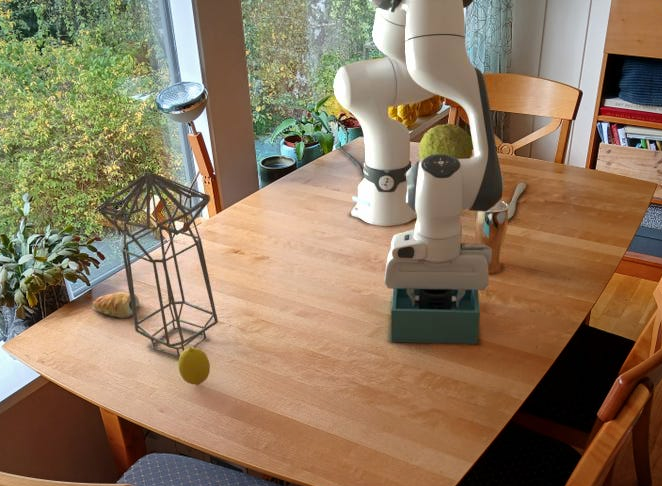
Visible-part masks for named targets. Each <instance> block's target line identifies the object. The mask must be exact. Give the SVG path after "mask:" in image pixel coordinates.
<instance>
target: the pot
mask: <svg viewBox="0 0 662 486" xmlns="http://www.w3.org/2000/svg"><path fill="white" fill-rule="evenodd" d="M451 305H452V290H450V289H419V309H434V310H451Z"/></svg>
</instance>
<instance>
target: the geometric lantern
mask: <svg viewBox="0 0 662 486" xmlns="http://www.w3.org/2000/svg"><path fill="white" fill-rule="evenodd" d="M129 190H130V191H129ZM128 191H129V192H128ZM154 191H155V193H156V195H157V197H158V199H159V201H160V203H161V204H162V206H163V208H164V210H165V212H166V214H167V217H168V218H167V219H165V220H163V221H160V222H159V220H158V214H157V206H156V200H155V199H156V198H155V194H154ZM170 191H172V192H174V193H176V194H177V195H178V196H179V197H178V198H179V201H178V200H177V198H176V197H175V196H173V194H172V193H171V192H170ZM126 192H128V194H127V195H125V197H124V198H123V199H120V200H117V198H119V197H120V196H122V195H123V194H125V193H126ZM144 192H145V195H144V197H143V199H142V201H141V204H140V205H139V204H138V200H139V198H140V196H141V195H142V194H143V193H144ZM161 192H162V193H163V194H164V195H165V196H166V197H167V198H168V199H169V201H171V202H172V203H173V204H174V205H175V206H176V207H175V209H174V210H173V212H172V213H171V211H170V209H169V207H168V205H167V204H166V201H165V200H164V198H163V196H162V194H161ZM182 196H184V197H185V198H187V199H188V200H189V207H188V206H185V205H183V204H182ZM151 197H152V203H153V211H154V218H153V217H152V216H151ZM133 198H134V199H133ZM192 198H199V199H201V200H200V201H198V202H197V203H196V204H194V205H193V206H192V204H193V203H192ZM132 199H133V201H132ZM115 200H116V201H115ZM131 201H132V203H131ZM210 201H211V195H210V194H206V193H204V192H201V191H198V190H196V189H194V188H191V187H189V186H186V185H184V184H182V183H179V182H177V181H173V180H171V179H169V178H166V177H163V176H161V175H159V174H157V173H153V172H143V175H140V176H139V177H138V178H136V179H135V180H133V181H132V182H131V183H129V184H128V185H127V186H124V187H123V188H122V189H120V190H119V191H118V192H116V193H115V194H114V195H112V196H111V197H109V198H108V199H106V200H105V201H104V202H102V203H100V204H99V205H97V207H95V209H94V211H93V214H95V215H96V214H97V213H99V214H100V215H101V216H102V217H104V218H105V219H106V220H107V221H108V222H109V223H110V224H112V226H114V228H116V230H117V234H118V235H119V236H121V235H123V240H122V241H123V244H122V246H123V247H122V248H120V252H122V258H123V265H124V270H125V275H126V282H127V288H128V293H129V294H130V300H131V306H132V312H133V313H132V318H133V324H134V331H135V333H137V334H139V335H141V336H143V337H145V338H147V339H148V340H150V341H151V348H152V350H155V351H158V352H161V353H164V354H167V355H170V356H174V357H176V358H179V357H180V355H181V353H180V350H181V349H182V352H183V351H184V350H185V347H186V346H187V345H189V344H190V343H191V342H193V341H194V340H196V338H198V337H200V336H203V338H202V339H201V340H198V342H196V343H195V344H194V345H193V346H192V347H195V348H197V347H198V346H199V345H200V344H201V343H203V342H204V341H205V340H206V339H207V335H206V331H208V330H210V328H212V327H214V326H215V325H218V323H219V319H218V314H217V311H216V306H215V301H214V296H213V293H212V287H211V282H210V277H209V271H208V267H207V263H206V258H205V253H204V248H203V242H202V239H201V236H200V233H199V231H198V227H197V225H196V222H195V220H196V219H197V218H198V216H199V215H200V214H201V213H202V212H203V210H204V209H205V208H206V207H207V205H209V203H210ZM130 203H131V207H130V209H129V211H127V210H126V208H127V207H128V205H130ZM120 204H122V207H121V208H120V209H116V208H110V207H112V206H116V205H120ZM145 205H146V208H145V209H146V211H145V210H144V206H145ZM178 211H180V212H181V213H182V214H181V215H179V216H177V215H176V214H177V213H178ZM195 211H196V212H195ZM140 212H143V214H145V215H146V224H144V223H138V222H133V221H130V220H131V217H132V215H134V214H137V213H140ZM194 212H195V214H194V215H193V213H194ZM122 215H123V217H122ZM109 216H112V217H114V219H112V218H111V217H109ZM188 216H190V218H191V219H190V220H188V219H189V218H188ZM182 219H184V220H185V224H186V225H183V227H181V228H179V229H177V228H176V224H175V222H176V221H179V220H182ZM117 220H120V221H122V222H123V228H122V227H121V226H120V225H118V221H117ZM151 220H152V221H153V222H154V223H155V225H156V226H153V227H151ZM166 224H167V226H165V225H166ZM192 224H193V227H194V230H195V232H196V235H195V233H193V230H192V228H191V227H190V226H192ZM127 225H128V226H133V227H139V229H138V230H136V231H134V232H130V231H129V228H128V226H127ZM171 225H172V227H173V228H172V227H171ZM147 230H149V231H147ZM157 230H158V232H159V233H158V235H159V242H160V249H161V258H159V259H157V258H156V259H155V258H153V257H152V255H151V254H149V252H148V251H147V250H146V249H145V248H144V246H143V245H142V244H141V243H140V242H139V239H142V238H144V237H145V236H148V235H150V234H151V233H154V232H155V231H157ZM185 230H187V231H188V232H184V231H185ZM144 231H146V232H145V233H143V232H144ZM163 231H167V232H168V238H169V243H168V245H167V246H166V249H165V244H164V237H163ZM141 233H143V234H141ZM180 234H182V235H185V236H187V237H191V238H192V240H193V242H194V243H193V244H191V245H190V246H189V245H188V246H187V247H186V248H184V249H181V250H180V251H178V252H177V253H176V250H175V245H174V244H175V243H174V238H175V236H178V235H180ZM137 235H139V236H137ZM127 236H128V238H131V240H129V241H127ZM135 236H137V237H135ZM133 242H134V243H135V244H136V245H137V247H138V248H139V249H140V250H141V251H142V252H143V254H144V255H145V256H146V257H144V256H142V255H139V254H136V253H134V252H130V250H129V245H130V244H132V243H133ZM194 247H196V251H197V255H198V259H199V263H200V267H201V271H202V275H203V279H204V283H205V287H206V291H207V295H208V300H209V303H210V307H211V311H210V310H208V309H206V308H203V307H200V306H198V305H195V304H192V303H190V302H188V301H186V299H185V294H184V289H183V285H182V280H181V279H182V278H181V274H180V270H179V265H178V264H179V263H178V259H177V256H179V255H181V254H183V253H185V252H186V251H188V250H190V249H192V248H194ZM169 248H171V253H172V255H171V256H169V257H167V258H166V255H167V253H168V251H169V250H170V249H169ZM130 255H131V256H133V257H135V258H138V259H141V260H143V261H146V262H149V263H152V266H153V271H154V277H155V278H154V279H155V283H156V289H157V296H158V302H159V308H158V309H157V310H155V311H153V312H152V313H150V314H148V315H147V316H145V317H142V319H140V320H139V318H138V311H137V307H136V302H135V295H136V294H135V288H134V279H133V273H132V272H133V271H132V264H131V256H130ZM171 259H173V262H174V268H175V272H176V277H177V282H178V286H179V287H178V288H179V292H180V297H181V300H178V301H175V298H174V293H173V289H172V285H171V280H170V275H169V271H168V266H167V265H168V264H167V261H170V260H171ZM157 263H160V264H161V263H162V267H163V271H164V277H165V282H166V283H165V284H166V292H167V298H168V299H167V300H168V303H166V304H165V305H164V303H163V297H162V290H161V285H160V278H159V274H158V268H157ZM134 294H135V295H134ZM177 305H180V307H179V312H178V310H177ZM184 305H186V306H188V307H191V308H193V309H196V310H199V311H200V312H203V313H206V314H209V315H211V316H210V317H209V319H208V320H207V321H206V323H205V325H203V326H202V325H199V324H195V323H192V322H190V321H186V320H182V319H180V318H181V315H182V312H183V307H184ZM167 308H169V312H170V315H171V318H172V319H171V320H170V321H168V323H167V320H166V314H165V309H167ZM159 313H161V319H162V325H163V326H162V327H161V328H160V329H158V330H157V331H155V332H154V333H153V334H150V333H148V332H147V331H146V330H145V329H144V328H142V327H141V326H140V324H142V323H143V322H145V321H147V320H148V319H150V318H152V317H153V316H155V315H157V314H159ZM212 319H213V322H211V321H212ZM175 322H176V323H175ZM210 322H211V323H210ZM181 323H184V324H187V325H190V326H193V327H196V328H200V330H199V331H195V330H192V329H188V328H185V327H182V326H181ZM209 323H210V324H209ZM171 324H172V329H170V330H169V331H168V326H170V325H171ZM176 326H177V327H176ZM176 330H177V331H178V334H179V339H180V341H178V342H174V343H170V337H169V335H170V334H171V333H173V332H174V331H176ZM161 331H164V335H162V336H160V338H157V337H155V336H156V335H157V334H159V333H160V332H161ZM183 331H185V332H190V333H193V334H192V335H190V336H189V337H187V338H185V339H184V334H183ZM164 338H165V341H164V340H163V339H164ZM157 343H159V344H161V345H163V346H165V347H167V348H169V349H174V350H176V354H175V353H172V352H170V351H166V350H164V349H161V348H158V347H155V346H156V344H157Z"/></svg>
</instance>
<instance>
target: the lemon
mask: <svg viewBox="0 0 662 486" xmlns="http://www.w3.org/2000/svg"><path fill="white" fill-rule="evenodd" d="M177 363H178V364H177V365H178V366H177V367H178V372H179V375H180V377H181V379H182V380H183V381H184V382H186V383H187V384H190V385H197V386H198V385H200V384H203V383H204V382H205V381H206V380H207V379H208V377H209V376H210V372H211V365H210V364H211V363H210V360H209V358H208V356H207V354H206V352H205V351H204V350H202V349H201V348H198V347H193V346H191V347H187V348H185V349H184V351H183V350H182V352H181V353H180V357H178V362H177Z"/></svg>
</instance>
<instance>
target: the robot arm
mask: <svg viewBox="0 0 662 486" xmlns="http://www.w3.org/2000/svg"><path fill="white" fill-rule="evenodd" d="M368 1H369V2H370V3H371V4H372V5H373V7H375V8H376V11H375V17H374V22H373V29H372V39H373V42H374V44H375V46H376V47H377V49H378V50H379V51H380V52H381V53H383V54H384V55H385V56H384V57H377V58H370V59H369V58H368V59H362V60H356V61H354V62H350V63H348V64H345V65H344V66H343V65H342V66H341V67H339V69H338V70H337V73H336V75H335V77H334V81H333V91H334V95H335V98H336V100H337V102H338V103H339V105H340V106H341V107H342V108H344V109H345V110H346V111H348V112H349V113H351V114H352V115H353V116H354V117H355V118H356V120H357V122H358V123H359V125H360V127H361V129H362V133H363V142H364V154H365V155H364V156H365V161H364V162H363V167H362V166H361V164H360V162H358V161H357V159H355V158H354V157H353V156H351V154H350V153H348V152H346V151H345V149H343V148H342V142H341V141H339V142H338V143H337V145H338V149H339V151H340V152H341V153H342V154H344V155H345V156H346V157H347V158H348V159H350V160H351V161H352V162H353V163H354V165H356V166H357V168H358V169H359V172H360V175H361V177H362V179H363V180H362V181H361V182H360V183H359V184H358V187H357V196H352V200H353V201H354V202H356V204H355V205H354V207H353V208H352V210H351V213H350V214H351V215H350V216H352V217H355V218H358V219H361V220H362V221H363V222H366V223H367V224H370V225H374V226H380V227H389V226H390V227H392V226H400V225H403V224H406V223H410V222H411V221H413V220H414V219H416V222H415V224H414V228H411V229H409V230H406V231H403V232H398V233H396V234H394V235H393V237H392V239H391V242H390V250H389V252H388V253H387V257H386V263H385V271H384V280H383V281H384V285H385V286H386V287H387V289H393V288H394V289H407V294H408V296H409V297H410V299H411V300H412V307H419V296H415V294H414V289H450V290H458V293H457V295H456V296H452V305H451V308H458V307H459V301H460V300H461V298H462V297H463V296H464V295H465V290H478V291H484V290H485V289H487V288H488V287H489V282H490V280H489V278H490V277H489V276H490V275H489V274H488V264H490V262H491V261H492V250H491V248H490V247H488V246H485V244H481V243H479V244H476V243H470V242H469V243H468V242H467V243H466V242H462V234H463V226H462V221H461V217H462V214H463V211H470V212H471V211H472V212H477V211H488V210H489V209H491V208H492V207H493V206H494V205H496V204H497V203H498V202H499V200H500V201H501V200H502V198H503V193H504V175H503V172H502V168H501V164H500V161H499V157H498V151H497V143H496V137H495V131H494V125H493V118H492V110H491V106H490V99H489V95H488V89H487V84H486V81H485V78H484V75H483V72H482V71H481V69H479V68H478V67H476V66H474V65H473V64H472V62H471V60H470V57H469V55H468V52H467V45H466V19H465V18H466V17H465V9H466V8H468V7H469V6H470V5H471V4H473V2H474V0H368ZM435 95H436V96H440V97H442V98H446V99H448V100H451V101H453V102H455V103H457V104H458V105H459V106H461V108H463V110H464V111H465V113H466V115H467V118H468V123H469V131H470V135H471V136H470V137H471V140H472V144H473V145H472V146H473V148H472V149H473V155H472V156H471V157H470V158H469V159H457V158H455V157H453V156H450V155H446V154H435V155H431V156H428V157H426V158H424V159H423V160H421V161H420V160H417V161H416V162H415V163H413V164H412V161H411V134H410V131H409V128H408V127H407V126H406V125H405V124H404V123H403V122H400V121H399V120H397V119H394V118H391V117H390V116H389V108H391V107H399V106H406V105H413V104H417V103H420V102H424V101H426V100H428V99H432V98H433V97H434V96H435ZM485 248H487V249H485Z"/></svg>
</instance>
